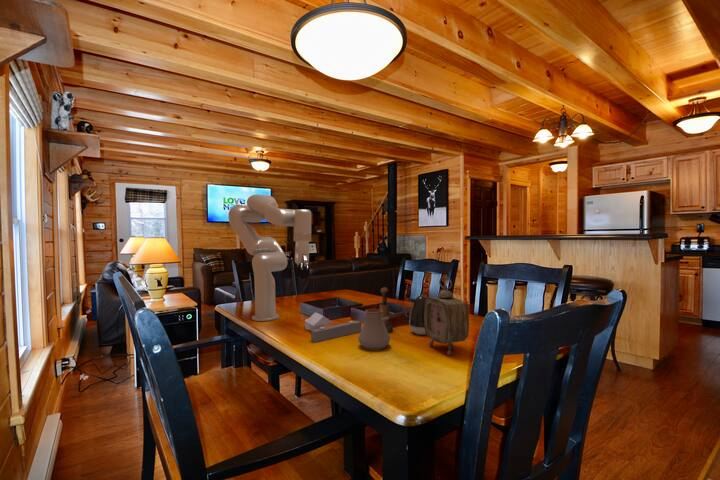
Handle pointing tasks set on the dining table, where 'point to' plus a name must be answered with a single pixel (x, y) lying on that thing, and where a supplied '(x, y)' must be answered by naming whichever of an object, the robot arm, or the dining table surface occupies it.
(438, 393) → the dining table surface
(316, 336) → the bar
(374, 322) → the coffee pot
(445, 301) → the tabletop clock
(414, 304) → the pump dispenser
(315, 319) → the wedge on round base
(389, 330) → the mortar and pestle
